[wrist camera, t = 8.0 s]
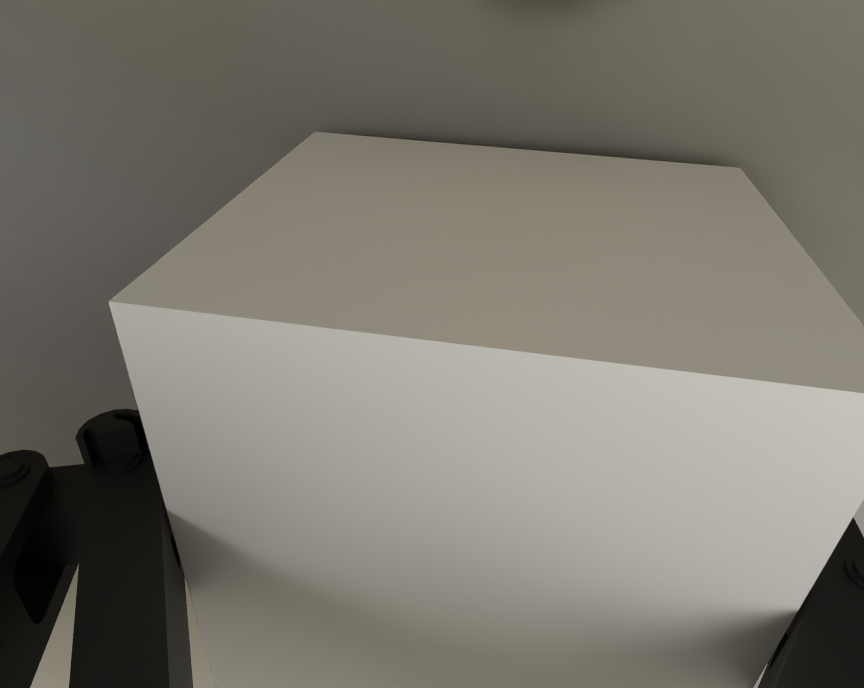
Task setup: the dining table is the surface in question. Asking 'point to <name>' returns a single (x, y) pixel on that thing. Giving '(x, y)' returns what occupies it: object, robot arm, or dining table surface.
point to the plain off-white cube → (495, 420)
